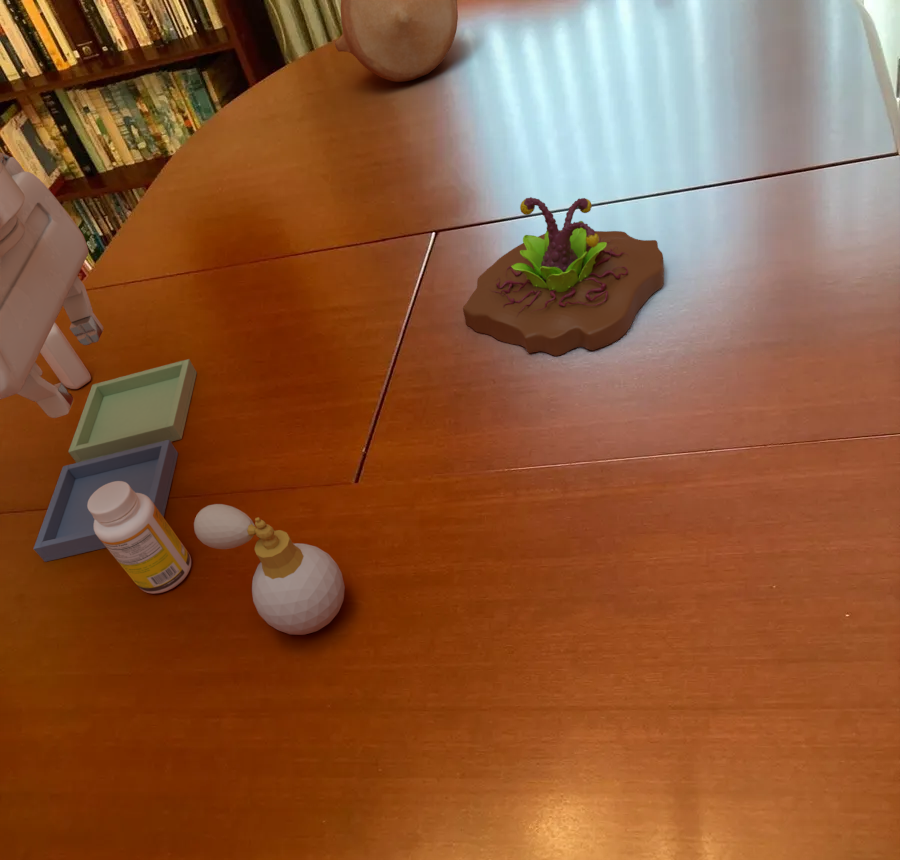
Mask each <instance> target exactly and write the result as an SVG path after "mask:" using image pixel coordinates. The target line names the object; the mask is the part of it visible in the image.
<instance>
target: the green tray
mask: <svg viewBox="0 0 900 860" xmlns="http://www.w3.org/2000/svg"><path fill="white" fill-rule="evenodd" d="M197 374H198V372H197V370H196V368H195V367H194V364H193V363H192V361H191V360H190V358H188V359H184V360H179V361H175V362H172V363H168V364H165V365H161V366H156V367H153V368H150V369H145V370H143V371H138V372H134V373H131V374H127V375H123V376H119V377H115V378H112V379H109V380H105V381H101V382H97V383H93V384H91V387H90V391H89V393H88V395H87V398H86V402H85V404H84V407H83V410H82V413H81V415H80V418H79V421H78V423H77V426H76V429H75V432H74V434H73V438H72V440H71V443H70V445H69V448H68V453H69V455H70V457H71V458H72V459H73V460H74V462H75V463H78V462H82V461H86V460H90V459H94V458H98V457H102V456H106V455H110V454H114V453H118V452H122V451H126V450H130V449H134V448H138V447H142V446H146V445H150V444H154V443H158V442H162V441H166V440H170V441H171V443H172V442H175V441H179V440H182V438H183V435H184V431H185V426H186V421H187V416H188V414H189V413H188V412H189V409H190V404H191V400H192V396H193V391H194V387H195V382H196V378H197Z"/></svg>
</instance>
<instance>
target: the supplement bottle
mask: <svg viewBox="0 0 900 860" xmlns="http://www.w3.org/2000/svg"><path fill="white" fill-rule="evenodd" d="M87 507H88V510H89V511H90V513H91V514H92V515H93V518H94V519H95V520H94V531H95V534H96V535H97V537H98V538H99V539H100V540H101V542H102V543H103V544H104V545H105V547H106V548H105V549H106V550H107V551H108V552H109V553H110V554H111V555H112V556H113V558H114V559H115V561H116V562H117V563H118V564H119V565H120V567H121V568H122V569H123V570H124V571H125V572H126V574H127V575H128V576H129V578H130V579H131V580H132V581H133V583H134V584H135V585H136V586H137V587H138V588H139V589H140V591H143V592H145V593H148V594H154V595H155V594H162V593H166V592H168V591H170V590H173V589H174V588H175V587H177V586H178V585H180V584H181V583H182V582H183V581H184V580H185V579H186V577H187V576H188V575H189V572H190V570H191V567H192V558H191V555H190V553H189V551H188V550H187V549H186V547H185V545H184V544H183V543H182V541H181V540H180V539H179V537H178V535H176V533H175V531H174V530H173V529H172V527H171V525H170V524H169V523H168V522H167V520H166V519H165V518H164V517H163V516H162V515H161V513H160V512H159V510H158V509H157V508H156V506H155V505H154V503H153V502H152V501H151V499H150V498H149V497H148V496H146V495H144V494H141V493H135V492H134V491H133V490H132V488H131V487H130V486H129V485H128V484H127V483H126V482H123V481H114V482H111V483H108V484H105V485H103V486H102V487H100V488H99V489H97V490H96V491H95V492H94V493H93V494H92V495H91V497H90V498H89V500H88V503H87Z"/></svg>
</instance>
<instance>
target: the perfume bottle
mask: <svg viewBox="0 0 900 860" xmlns="http://www.w3.org/2000/svg"><path fill="white" fill-rule="evenodd" d="M254 521H255V522H254ZM254 521H253V520H252V518H250V517H249V515H248V514H247V513H245V512H244V511H242V510H240V509H238V508H236V507H235V506H232V505H228V504H224V503H214V504H209V505H206V506H205V507H203V508H201V509H200V510H199V512H198V513H197V514H196V517H195V518H194V522H193V529H194V534H195V536H196V537H197V539H198V541H200V542H201V543H202V544H203V545H205V546H207V547H209V548H212V549H215V550H216V549H217V550H228V549H235V548H237V547H241V546H243V545H244V544H247V543H248V542H250V540H252V539H253V538H254V536H255V535H256V537H257V538H259V539H258V540H256V542H255V545H254V548H253V549H254V552H255V555H256V556H257V558H258V560H259V561H260V562H259V563H258V564H257V567H256V569H255V571H254V574H253V576H252V583H251V595H252V596H251V597H252V603H253V604H254V606H255V608H256V611H257V613H258V615H259V616H260V617H261V618H262V619H263V621H264V622H266V624H267V625H268V626H271V627H272V628H274V629H275V630H277V631H278V632H282V633H285V634H287V635H290V636H291V635H296V636H297V635H298V636H305V635H307V634H308V635H309V634H311V633H312V634H313V633H316V632H319V631H320V630H322V629H323V628H324V627H326V626H328V625H329V624H330V623H331V622H332V621H333V620H334V618H336V616H337V615H338V613H339V612H340V609H341V608H342V605H343V603H344V599H345V591H346V590H345V589H346V587H345V581H344V578H343V577H344V576H343V573H342V571H341V569H340V567H339V565H338V563H337V562H336V561H335V560H334V559H333V557H332V556H331V555H330V554H329V553H328V552H326V551H324V550H323V549H321V548H319V547H318V546H316V545H311V544H308V543H300V542H299V543H295V542H293V541H292V539H291V537H290V535H289V534H288V532H286V531H284V530H281V529H278V530H277V529H276V530H274V527H273V526H271V525H270V524H267V523H266V521H265V520H264V519H261V518H260V517H259V516H258V517H255V519H254Z"/></svg>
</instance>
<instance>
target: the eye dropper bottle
mask: <svg viewBox="0 0 900 860" xmlns="http://www.w3.org/2000/svg"><path fill="white" fill-rule="evenodd" d="M39 354H40V355H41V356H42V357H43V359H44V360H45V362H46V363H47V365H48V366H49V368H50V369H51V370H52V371H53V373H54V375H55V376H56V377H57V380H59V381H60V383H62V384H63V385H64V386H65V388H66V389H71V390H79V389H81V388H83V386H85V385H86V384H88V383H89V382H90V381H91V380H92V376H91V374H90V371H89V370H88V369H87V367H86V366H85V364H84V362H83V361H82V360H81V358H80V356H79V355H78V353H77V352H76V351H75V349H74V348H73V346H72V344H71V343H70V341H69V340H68V339H67V337H66V336H65V334H64V332H63V331H62V330H61V329H60V327H59V326H58V324H57V323H56V321H55V322H54V325H53V327H52V329H51V331H50V333H49V335H48V337H47V339H46V341H45V343H44V345H43V347H42V349H41V351H40V353H39Z"/></svg>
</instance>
